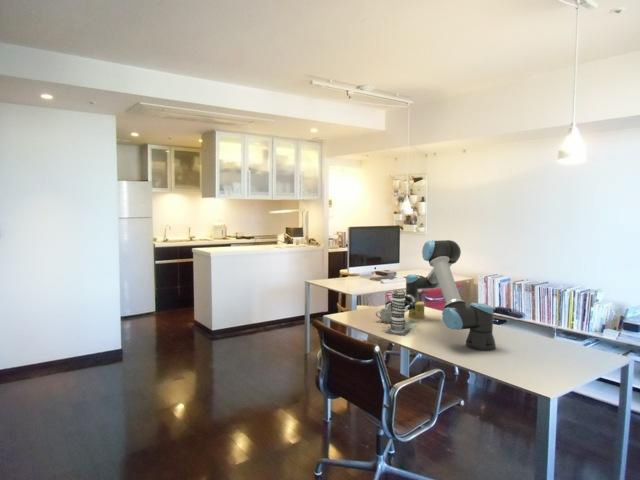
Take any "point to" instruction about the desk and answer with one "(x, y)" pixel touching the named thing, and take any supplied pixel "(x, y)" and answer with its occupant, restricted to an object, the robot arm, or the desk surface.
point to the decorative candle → (398, 311)
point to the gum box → (388, 297)
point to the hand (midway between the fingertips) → (396, 308)
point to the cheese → (417, 311)
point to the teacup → (385, 315)
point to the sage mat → (410, 325)
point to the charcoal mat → (397, 333)
